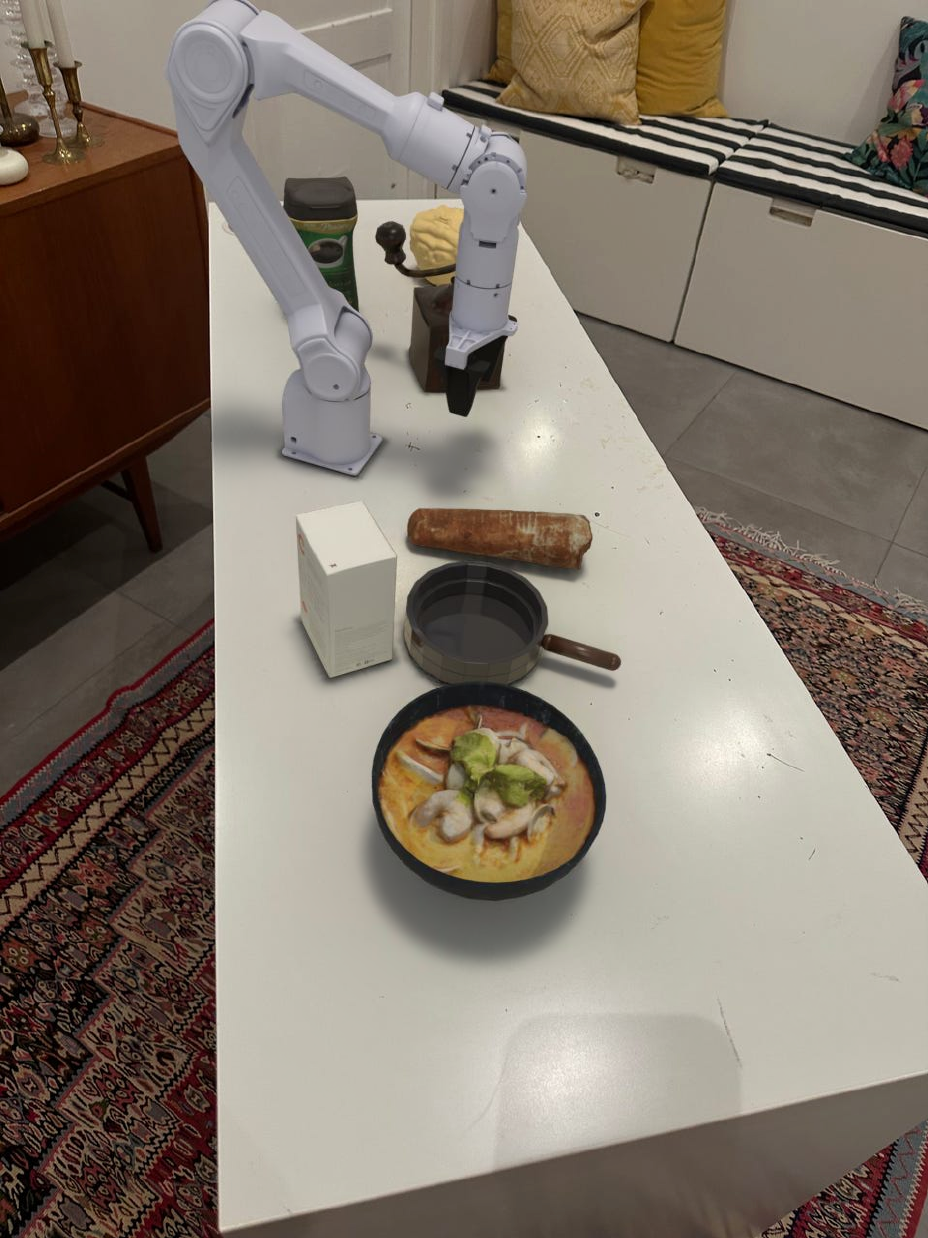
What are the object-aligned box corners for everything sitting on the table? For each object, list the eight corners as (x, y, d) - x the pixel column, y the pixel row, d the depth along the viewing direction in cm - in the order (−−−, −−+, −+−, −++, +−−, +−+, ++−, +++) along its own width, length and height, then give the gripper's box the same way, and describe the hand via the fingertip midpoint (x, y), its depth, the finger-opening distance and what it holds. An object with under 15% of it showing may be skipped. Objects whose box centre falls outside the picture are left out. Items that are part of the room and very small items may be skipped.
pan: (383, 665, 80) (384, 636, 77) (432, 575, 89) (435, 546, 86) (519, 710, 78) (526, 681, 75) (556, 612, 87) (563, 584, 84)
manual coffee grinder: (479, 346, 122) (495, 214, 109) (501, 389, 114) (520, 254, 101) (370, 351, 118) (372, 215, 105) (385, 395, 111) (389, 256, 98)
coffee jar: (351, 301, 127) (351, 166, 114) (363, 328, 122) (364, 190, 108) (284, 305, 124) (276, 167, 111) (294, 332, 119) (286, 192, 106)
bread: (583, 582, 90) (593, 542, 86) (402, 555, 90) (404, 513, 86) (584, 542, 94) (595, 502, 90) (412, 516, 95) (414, 475, 91)
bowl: (417, 977, 61) (426, 915, 53) (340, 780, 71) (339, 705, 64) (624, 895, 66) (657, 829, 59) (525, 724, 77) (543, 649, 70)
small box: (393, 660, 80) (399, 556, 71) (328, 680, 78) (325, 575, 69) (361, 602, 85) (363, 497, 76) (299, 618, 83) (292, 513, 74)
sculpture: (396, 279, 133) (399, 207, 125) (442, 255, 140) (447, 185, 132) (457, 305, 129) (464, 232, 121) (501, 279, 136) (510, 208, 129)
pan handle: (537, 651, 80) (540, 640, 79) (542, 639, 82) (544, 628, 80) (617, 676, 79) (620, 665, 78) (620, 664, 80) (624, 652, 79)
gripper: (500, 317, 80) (484, 439, 90) (542, 256, 90) (523, 373, 100) (429, 298, 81) (420, 421, 91) (478, 241, 91) (465, 358, 101)
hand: (470, 395), depth 95 cm, fingers open, 7 cm apart
